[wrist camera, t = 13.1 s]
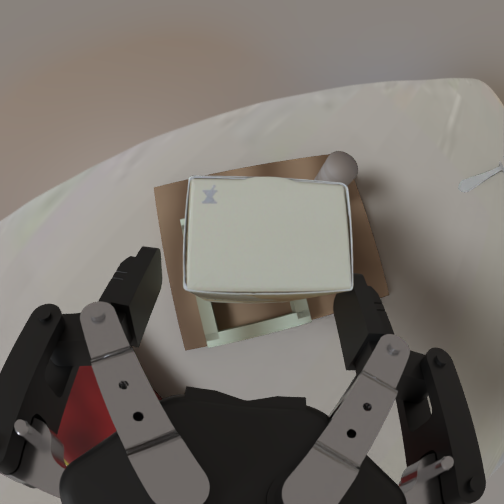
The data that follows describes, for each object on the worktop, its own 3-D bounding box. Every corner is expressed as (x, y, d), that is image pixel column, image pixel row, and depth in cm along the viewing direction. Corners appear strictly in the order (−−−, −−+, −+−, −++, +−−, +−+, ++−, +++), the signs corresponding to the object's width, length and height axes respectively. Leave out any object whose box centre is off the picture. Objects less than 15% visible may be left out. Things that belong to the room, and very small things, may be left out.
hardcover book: (108, 328, 23) (87, 331, 19) (266, 486, 21) (271, 510, 17) (40, 395, 21) (16, 404, 17) (181, 533, 19) (176, 556, 15)
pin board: (340, 157, 27) (367, 118, 21) (383, 295, 25) (428, 289, 18) (156, 191, 25) (134, 154, 19) (187, 348, 23) (170, 363, 16)
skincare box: (204, 302, 21) (171, 294, 9) (205, 244, 22) (179, 172, 10) (291, 303, 22) (358, 294, 10) (290, 246, 23) (349, 179, 11)
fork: (437, 184, 28) (445, 178, 27) (512, 152, 32) (518, 148, 30) (449, 209, 28) (458, 204, 26) (520, 169, 31) (527, 165, 29)
